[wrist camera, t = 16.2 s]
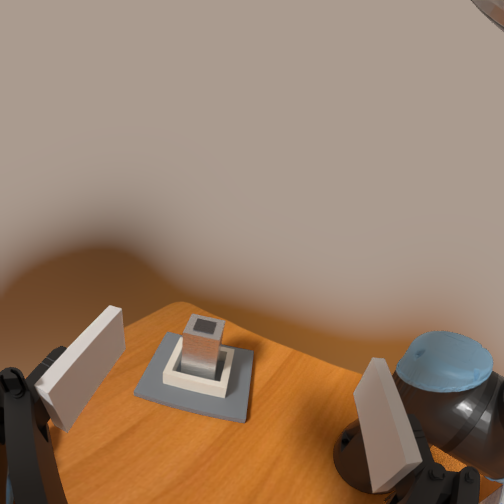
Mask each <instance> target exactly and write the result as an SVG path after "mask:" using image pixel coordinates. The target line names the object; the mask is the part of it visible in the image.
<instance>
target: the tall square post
mask: <svg viewBox="0 0 504 504" xmlns="http://www.w3.org/2000/svg"><path fill="white" fill-rule="evenodd" d="M224 325H225V321H224V320H219V319H214V318H210V317H205V316H200V315H196V314H192V315H191V317H190V319H189V321H188V323H187V325H186V327H185V330H184V332H183V342H182V360H181V373H184V374H188V375H192V376H196V377H201V378H205V379H209V380H214V379H215V375H216V371H217V367H218V363H219V356H220V350H221V344H222V338H223V331H224Z"/></svg>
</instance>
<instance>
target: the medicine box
mask: <svg viewBox="0 0 504 504" xmlns="http://www.w3.org/2000/svg"><path fill="white" fill-rule="evenodd" d="M479 504H504V484H503V485H502V486H501V487H500V488H498V489H497V490H496V491H495V492H493V493H492V494H491V495H489V496H488V497H487V498H486V499H484V500H483V501H481V502H480V503H479Z"/></svg>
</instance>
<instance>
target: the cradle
mask: <svg viewBox="0 0 504 504" xmlns="http://www.w3.org/2000/svg"><path fill="white" fill-rule="evenodd" d="M182 342H183V336H182V335H178V334H175V333H171V332H167V333H166V335H165V337H164V338H163V340H162V342H161V344H160V345H159V347H158V349H157V351H156V352H155V354H154V356H153V358H152V359H151V361H150V363H149V365H148V367H147V368H146V370H145V372H144V374H143V376H142V377H141V379H140V381H139V383H138V385H137V387H136V388H135V390H134V396H137V397H140V398H143V399H146V400H149V401H152V402H156V403H159V404H162V405H166V406H169V407H173V408H177V409H180V410H184V411H188V412H192V413H196V414H200V415H205V416H209V417H214V418H219V419H224V420H229V421H235V422H240V423H245V421H246V414H247V405H248V397H249V388H250V380H251V371H252V362H253V354H254V351H252V350H247V349H242V348H236V347H231V346H227V345H222V344H221V350H220V356H219V363H218V367H217V371H216V375H215V379H214V380H209V379H205V378H201V377H196V376H192V375H188V374H184V373H181V360H182Z"/></svg>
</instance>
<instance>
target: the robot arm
mask: <svg viewBox="0 0 504 504" xmlns="http://www.w3.org/2000/svg"><path fill="white" fill-rule="evenodd" d="M471 1H472V2H473V3H474V4H475V5H476V7H477V8H478V9H479V10H480V11H481V12H482V13H483V14H484V15H485V16H486V17H487V18H488V19H489V20H490V21H492V22H493V23H494V24H495V25H496V26H497V27H498V28H500V29H501V30H502V31H503V32H504V0H471ZM125 349H126V348H125V339H124V329H123V317H122V309H120V308H117V307H114V306H109V307H108V308H107V309H106V310H105V311H104V312H103V313H102V314H101V315H100V316H99V317H98V318H97V319H96V320H95V321H94V322H93V323H92V324H91V325H90V326H89V327H88V328H87V329H86V330H85V331H84V332H83V333H82V334H81V335H80V336H79V337H78V338H77V339H76V340H75V341H74V342H73V343H72V344H71V345H70V346H69V348H66V347H63V346H60V347H58V348H56V349H54V350H53V351H52V352H51V353H50V354H49V355H48V356H47V358H45V359H44V360H43V361H42V363H40V364H39V365H38V366H37V367H36V368H35V369H34V370H33V371H32V373H31V374H30V375H29V376H28V377H27V378H26V379H25V378H24V376H23V374H22V372H21V371H20V370H19V369H17V368H14V367H9V368H5V369H4V370H2V371H1V372H0V504H6V484H7V469H8V468H9V475H10V481H11V486H12V491H13V496H14V500H15V504H68V503H67V500H66V497H65V494H64V490H63V487H62V484H61V480H60V477H59V473H58V469H57V465H56V461H55V457H54V452H53V447H52V442H51V437H50V431H49V426H48V423H47V422H48V421H49V419H50V418H51V420H52V422H53V424H54V425H55V426H56V427H58V428H60V429H62V430H63V431H65V432H67V433H68V431H69V430H70V428H71V427H72V425H73V424H74V422H75V421H76V419H77V418H78V416H79V415H80V413H81V412H82V410H83V409H84V407H85V406H86V404H87V403H88V401H89V400H90V398H91V397H92V396H93V394H94V393H95V391H96V390H97V388H98V387H99V385H100V384H101V383H102V381H103V380H104V378H105V377H106V375H107V374H108V373H109V371H110V370H111V368H112V367H113V366H114V364H115V363H116V361H117V360H118V359H119V357H120V356H121V355H122V353H123V352H124V350H125ZM492 367H493V359H492V356H491V354H490V353H489V352H488V351H487V349H485V348H482V345H481V344H480V343H478V342H477V341H475V340H473V339H471V338H469V337H466V336H464V335H461V334H458V333H453V332H447V331H432V332H427V333H424V334H422V335H420V336H418V337H417V338H416V339H415V340H414V341H413V342H412V343H411V345H410V346H409V348H408V350H407V351H406V353H405V355H404V356H403V358H402V359H400V360H399V362H398V364H397V367H396V370H395V372H394V374H393V375H391V373H390V370H389V368H388V366H387V363H386V361H385V359H382V358H372V359H371V361H370V363H369V365H368V367H367V369H366V371H365V373H364V375H363V376H362V378H361V380H360V382H359V384H358V386H357V387H356V389H355V391H354V393H353V395H354V399H355V403H356V408H357V412H358V417H359V418H358V419H357V420H355V421H354V422H352V423H351V424H350V425H348V426H347V427H346V428H345V429H344V431H343V432H342V434H341V435H340V436H339V438H338V439H337V441H336V443H335V446H334V451H333V458H334V463H335V466H336V469H337V471H338V472H339V474H340V475H341V477H342V478H343V479H344V480H345V481H346V482H347V483H348V484H349V485H351V486H352V487H354V488H355V489H357V490H360V491H362V492H365V493H370V494H386V493H390V492H393V491H395V490H396V491H395V492H394V493H392V494H391V495H390V496H388V497H387V498H386V499H385V500H384V501H385V502H386V501H387V500H388V499H389V500H388V502H387V503H386V504H478V502H479V491H480V474H482V475H484V477H485V478H487V479H489V480H491V481H496V482H499V483H502V484H504V377H503V376H501V375H499V374H497V373H496V372H494V371H492ZM432 445H434V446H435V447H437V448H439V449H440V450H442V451H444V452H445V453H447V454H449V455H450V456H452V457H454V458H455V459H457V460H459V461H460V462H462V463H464V464H465V465H467V467H464V468H463V469H462V470H461V471H460V472H453V471H446V470H445V468H444V467H443V466H442V465H441V464H439V463H435V462H434V460H433V457H432V454H431V451H430V447H431V446H432ZM479 473H480V474H479Z"/></svg>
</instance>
